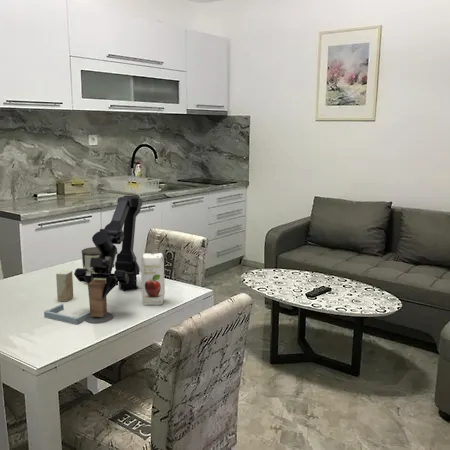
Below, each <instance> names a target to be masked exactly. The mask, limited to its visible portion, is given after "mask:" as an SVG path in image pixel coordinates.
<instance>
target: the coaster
mask: <svg viewBox="0 0 450 450" xmlns="http://www.w3.org/2000/svg"><path fill="white" fill-rule="evenodd" d="M113 318H114V314H113V313H112V312H109V311H107V313H106V314H105V315H104V316H103V317H95V316H91V317H89V318H87V319H85V321H84V322H85V323H88V324H103V323H106V322H109V321H112V319H113Z"/></svg>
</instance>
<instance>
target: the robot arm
mask: <svg viewBox="0 0 450 450" xmlns="http://www.w3.org/2000/svg"><path fill="white" fill-rule="evenodd" d="M142 206H143V199H142V198H141V197H140V196H139V195H127V194H126V195H124V196H120V197H118V199H117V205H116V207H115V209H114V212H113V216H112V218H111V221H110V222H109V223H108V224H106V225H105V226H104V228H100V229H99V231H97V232H96V233H95V234H93V235H92V238H91V241H92V243H93V244H94V246H95V247H96V248H97V249H98V251H100V254H99V257H97V258H91V260H90V267H93V268H92V269H93V271H95V273H93V272H89V271H88V270H87V269H84V268H83V267H82V268H81V267H80V268H79V267H78V268H76V269H75V270H74V273H73V275H74V277H75V278H76V279H77V281H78V282H81V283H84V282H87V284H86V285H87V289H88V290H87V291H88V293H89V285H88V284H89V283H90V282H91V281H92V280H94V278H103V279H106V285H105V288H104V291H103V295H102V298H103V299H104V298H105V297H106V298H107V296H108V295H109V293H110V292H111V291H113V289H114V288H115V287H116V286H118V288H119V289H120V290H122V291H123V292H125V291H132V290H137V289H139V286H138V284H137V283H138V282H137V281H138V280H137V276H139V275H140V271H141V266H139V264H138V262H137V257H136V255H135V253H134V244H135V234H136V233H135V232H136V221H137V216H138V215H139V214H140V212H141V209H142ZM116 245H121V251H120V252H118V248H117V246H116ZM115 258H116V259H115ZM113 268H114V269H115V270H114V273H112V271H113Z"/></svg>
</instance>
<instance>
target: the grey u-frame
mask: <svg viewBox="0 0 450 450" xmlns="http://www.w3.org/2000/svg"><path fill="white" fill-rule="evenodd" d="M64 309H65V308H64V303H60V304H58V305H55V306H53V307H50V309H47V310H44V311H43V317H44V318H47V319H51V320H56V321H60V322H64V323H69V324H73V325H79V324H81V323H83V322H86V321H85V319H87V318H89V317H91V316H90V310H89V311H87V312H85V313H83V314H81V315H79V316H77V317H75V316H70V315H67V314H62V313H60V312H61V311H64Z"/></svg>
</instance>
